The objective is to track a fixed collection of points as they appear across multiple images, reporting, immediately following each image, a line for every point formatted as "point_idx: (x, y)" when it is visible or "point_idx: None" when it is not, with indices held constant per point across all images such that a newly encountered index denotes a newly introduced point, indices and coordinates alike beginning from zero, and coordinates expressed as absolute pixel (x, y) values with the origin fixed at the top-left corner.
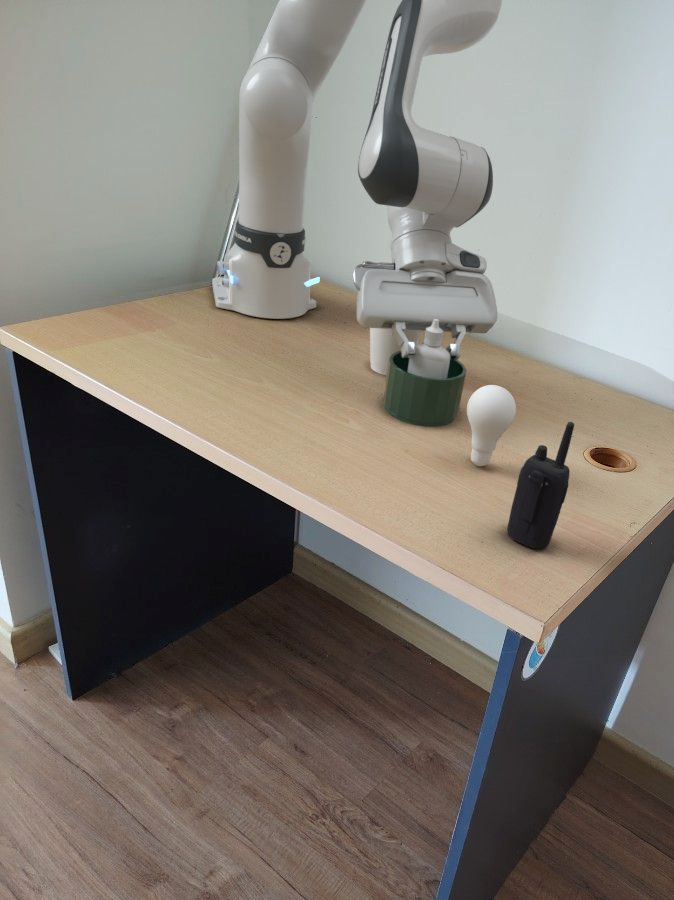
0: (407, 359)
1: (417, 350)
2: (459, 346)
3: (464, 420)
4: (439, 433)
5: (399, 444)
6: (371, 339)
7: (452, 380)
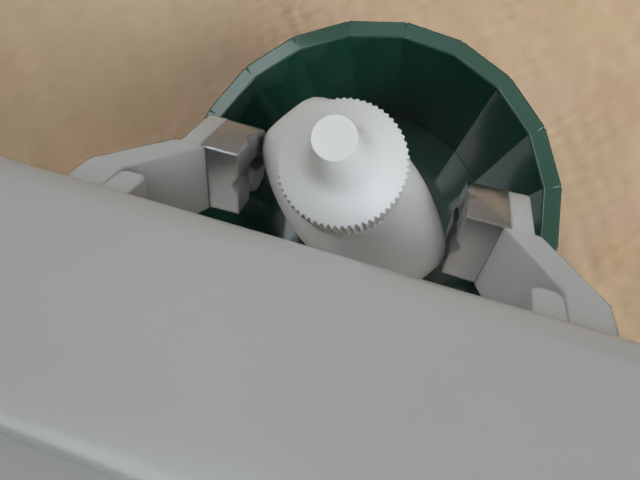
0: None
1: (434, 208)
2: (191, 131)
3: None
4: None
5: (566, 29)
6: None
7: (344, 23)
